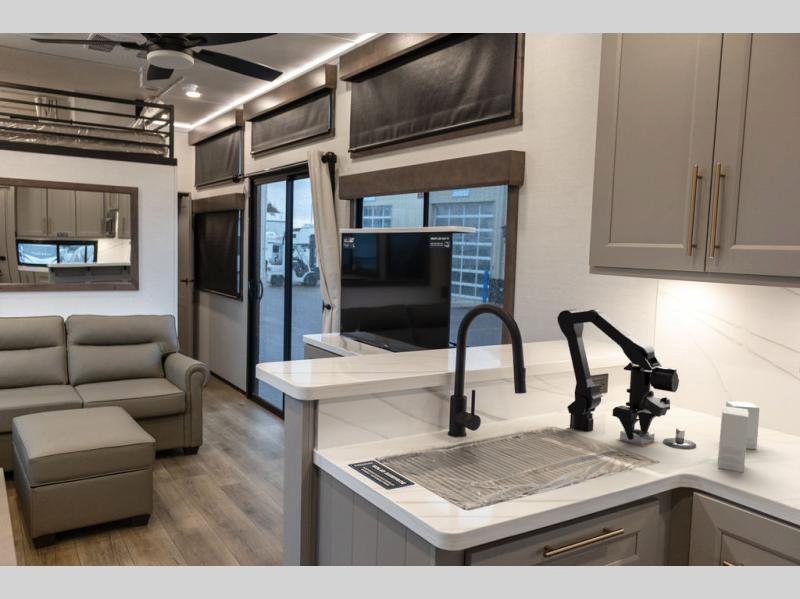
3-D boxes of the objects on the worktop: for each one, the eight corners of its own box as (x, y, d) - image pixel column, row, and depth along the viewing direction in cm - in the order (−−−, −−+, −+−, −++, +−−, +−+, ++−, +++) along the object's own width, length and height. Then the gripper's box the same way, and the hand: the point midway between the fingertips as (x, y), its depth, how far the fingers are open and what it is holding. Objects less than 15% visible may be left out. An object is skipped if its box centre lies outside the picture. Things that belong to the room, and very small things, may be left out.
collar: (619, 439, 191) (620, 431, 191) (633, 436, 195) (633, 427, 195) (641, 445, 186) (641, 437, 185) (654, 442, 190) (654, 433, 190)
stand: (614, 442, 191) (615, 429, 191) (631, 438, 197) (632, 424, 197) (642, 450, 184) (642, 436, 184) (658, 445, 190) (659, 431, 189)
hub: (657, 446, 189) (658, 428, 189) (672, 441, 195) (673, 423, 194) (686, 454, 182) (687, 435, 182) (701, 448, 188) (702, 430, 187)
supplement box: (757, 449, 189) (760, 407, 188) (730, 447, 190) (733, 406, 189) (749, 442, 196) (751, 402, 195) (723, 440, 197) (725, 400, 196)
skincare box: (718, 460, 178) (721, 405, 177) (744, 464, 175) (748, 408, 174) (717, 468, 170) (721, 412, 169) (745, 473, 167) (749, 415, 166)
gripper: (647, 395, 177) (644, 450, 178) (682, 388, 189) (678, 439, 190) (612, 388, 186) (610, 440, 187) (647, 381, 197) (644, 430, 199)
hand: (637, 437), depth 190 cm, fingers closed on collar, 7 cm apart
